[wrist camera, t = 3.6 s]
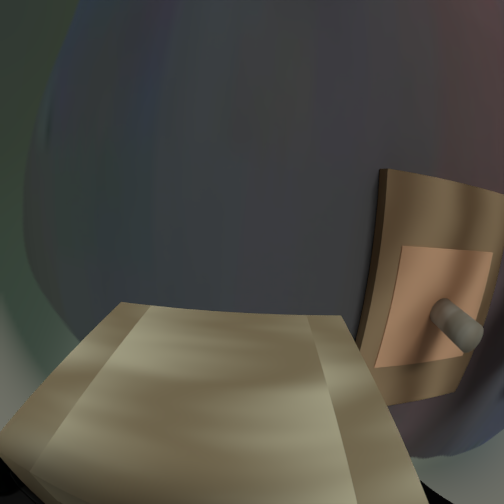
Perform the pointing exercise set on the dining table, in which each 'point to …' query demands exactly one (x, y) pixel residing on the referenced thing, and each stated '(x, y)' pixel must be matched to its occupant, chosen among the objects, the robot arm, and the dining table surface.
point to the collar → (211, 415)
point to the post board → (428, 283)
